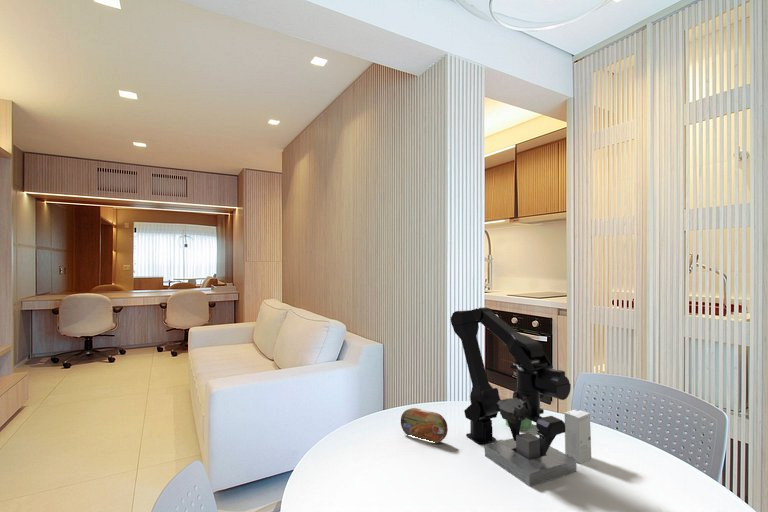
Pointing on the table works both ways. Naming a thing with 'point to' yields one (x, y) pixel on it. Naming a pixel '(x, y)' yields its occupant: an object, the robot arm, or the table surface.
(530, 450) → the tall grey square pillar
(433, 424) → the tin
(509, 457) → the square hole plate
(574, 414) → the skincare box
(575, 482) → the table surface
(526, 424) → the ramekin
